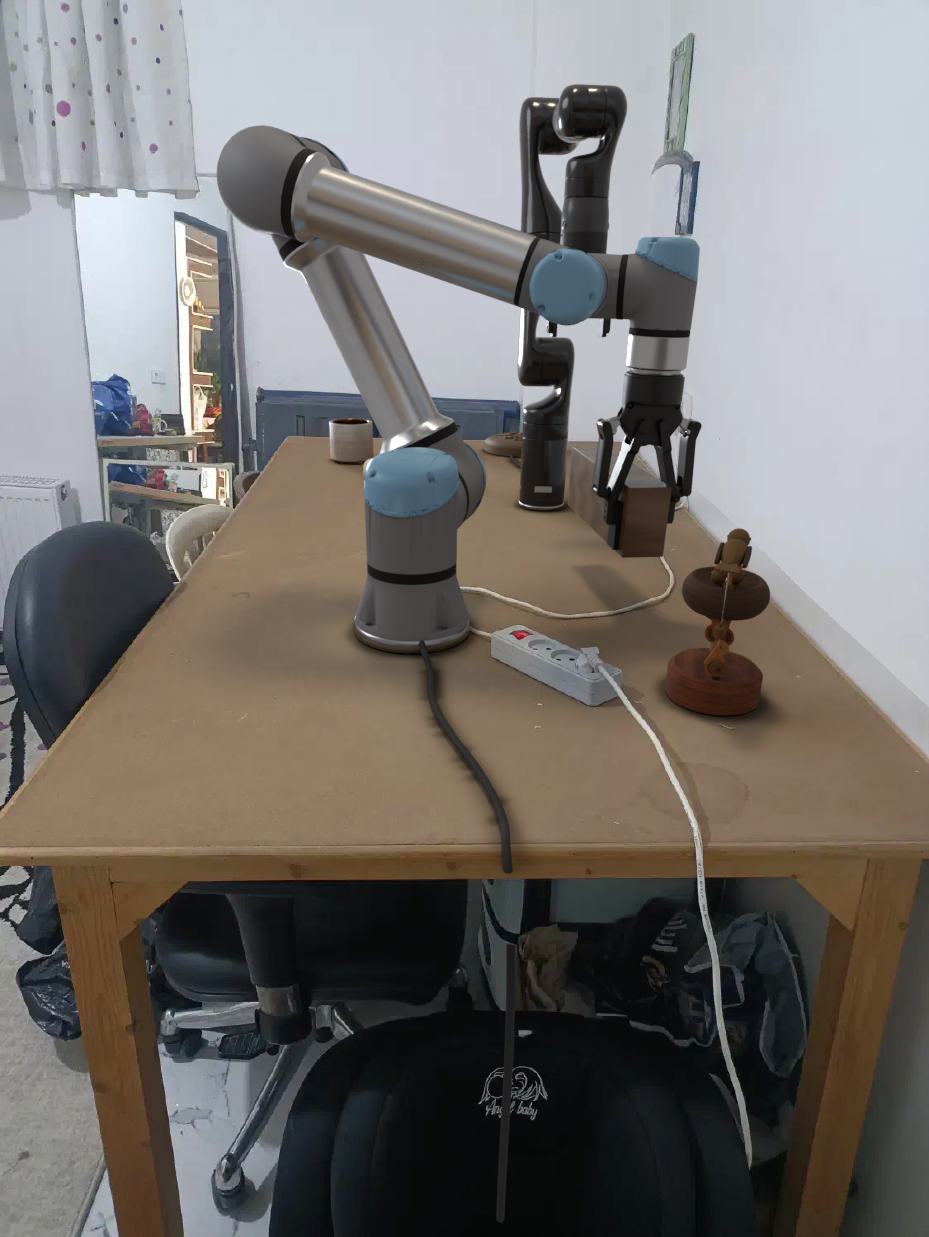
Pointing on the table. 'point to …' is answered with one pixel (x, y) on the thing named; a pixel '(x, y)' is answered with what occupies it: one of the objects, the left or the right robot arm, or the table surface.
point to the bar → (640, 505)
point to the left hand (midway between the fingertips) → (635, 546)
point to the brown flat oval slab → (504, 444)
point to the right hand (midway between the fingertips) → (577, 337)
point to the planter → (351, 440)
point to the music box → (720, 634)
